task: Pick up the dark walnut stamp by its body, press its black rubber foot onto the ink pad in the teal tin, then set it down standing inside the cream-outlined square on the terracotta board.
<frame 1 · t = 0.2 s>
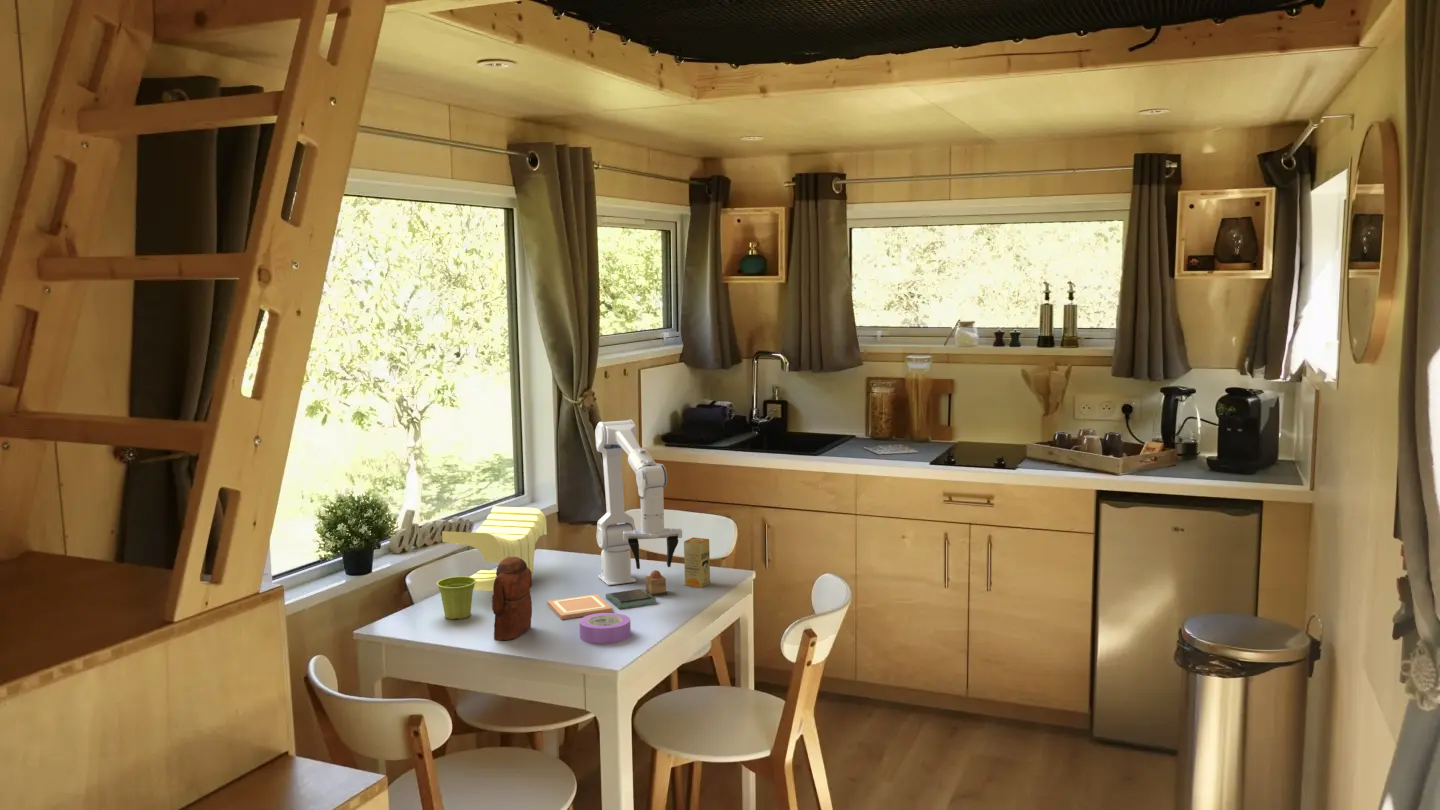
hand: (653, 566, 267), 10 cm above the table, tool pointing down, fingers open, 7 cm apart
plant pot: (458, 616, 263), on the table
marked board: (579, 608, 267), on the table
wooden figurine: (512, 634, 249), on the table
masking tape: (605, 637, 247), on the table
walnut stamp: (656, 594, 278), on the table
ink pad: (630, 600, 272), on the table
shoe polish box: (697, 584, 286), on the table
slatted curved stool: (498, 584, 290), on the table
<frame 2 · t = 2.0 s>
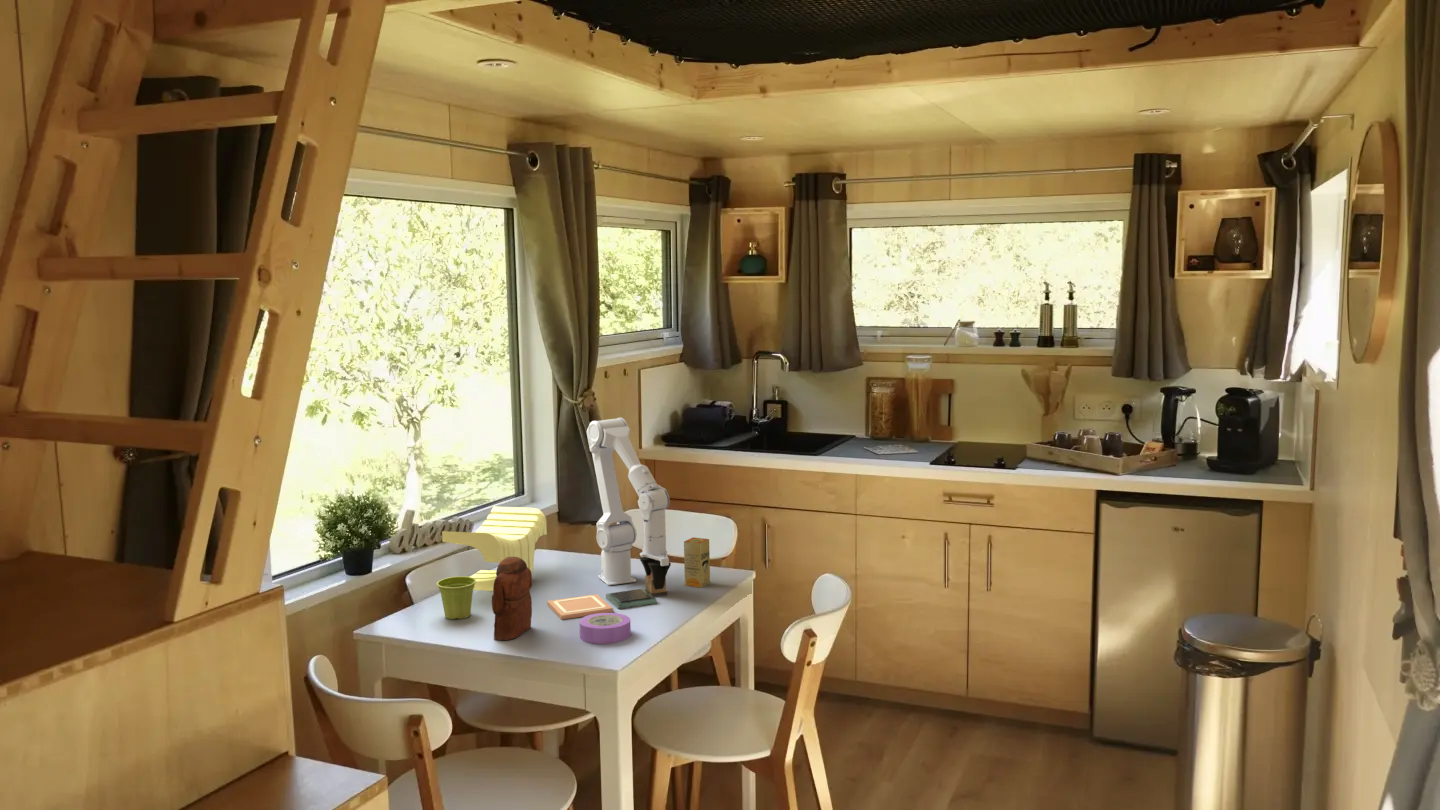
hand: (655, 586, 278), 2 cm above the table, tool pointing down, fingers closed on walnut stamp, 4 cm apart
walnut stamp: (656, 593, 278), on the table, touching gripper
everything else where it was.
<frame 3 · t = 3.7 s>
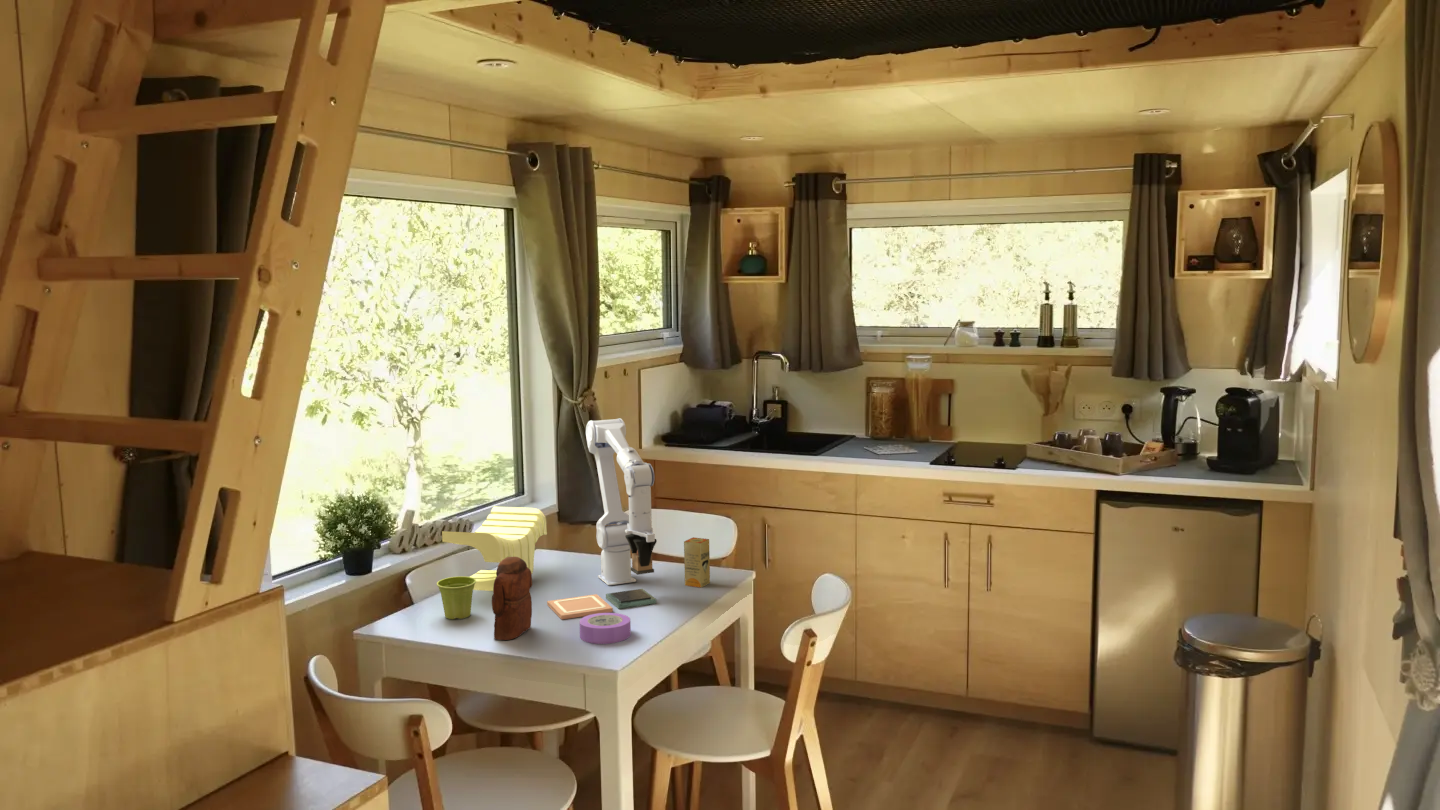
hand: (641, 563, 274), 9 cm above the table, tool pointing down, fingers closed on walnut stamp, 4 cm apart
walnut stamp: (642, 571, 274), point 7 cm above the table, touching gripper
everything else where it was.
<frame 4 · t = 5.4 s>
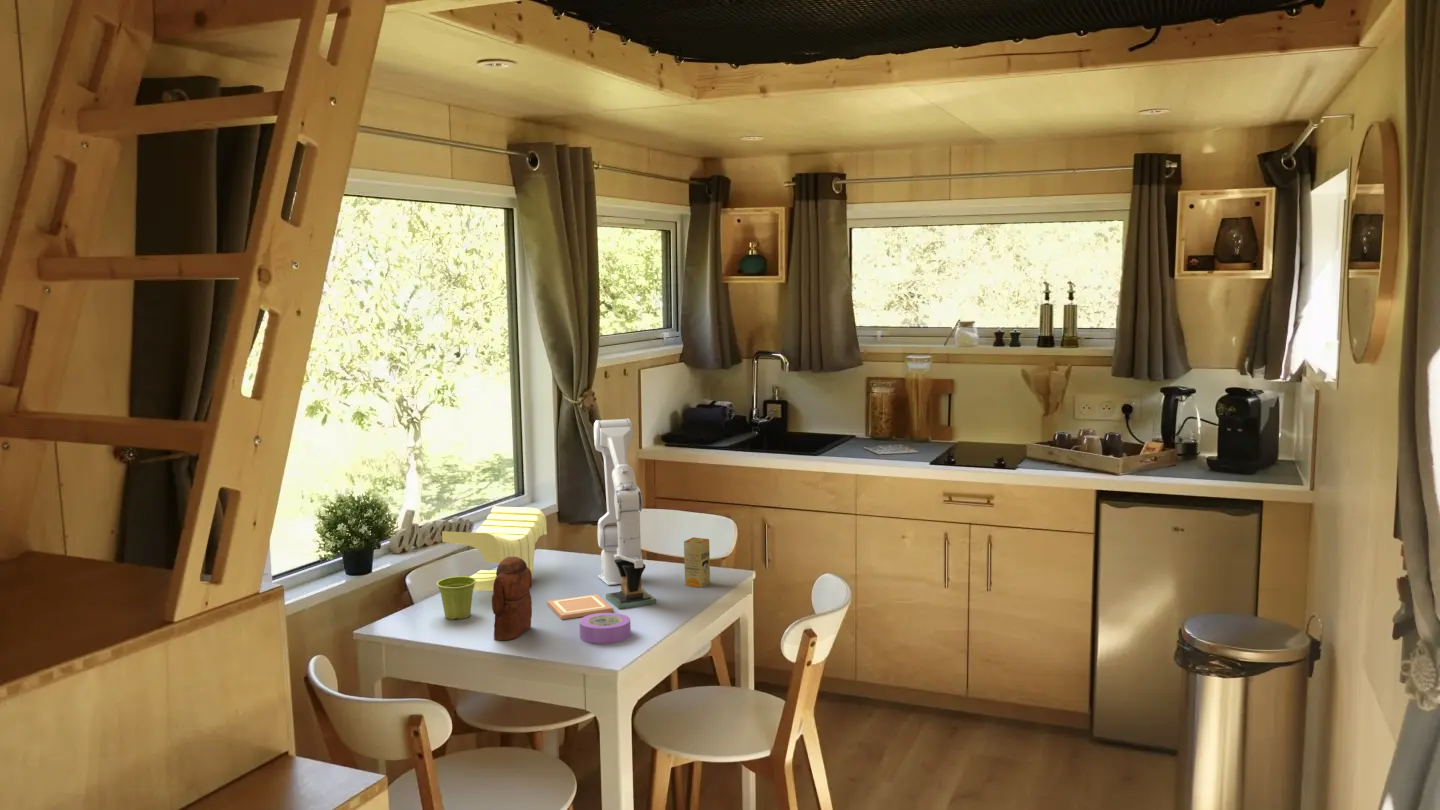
hand: (630, 589, 272), 3 cm above the table, tool pointing down, fingers closed on walnut stamp, 4 cm apart
walnut stamp: (631, 595, 272), point 1 cm above the table, touching gripper, ink pad
everything else where it was.
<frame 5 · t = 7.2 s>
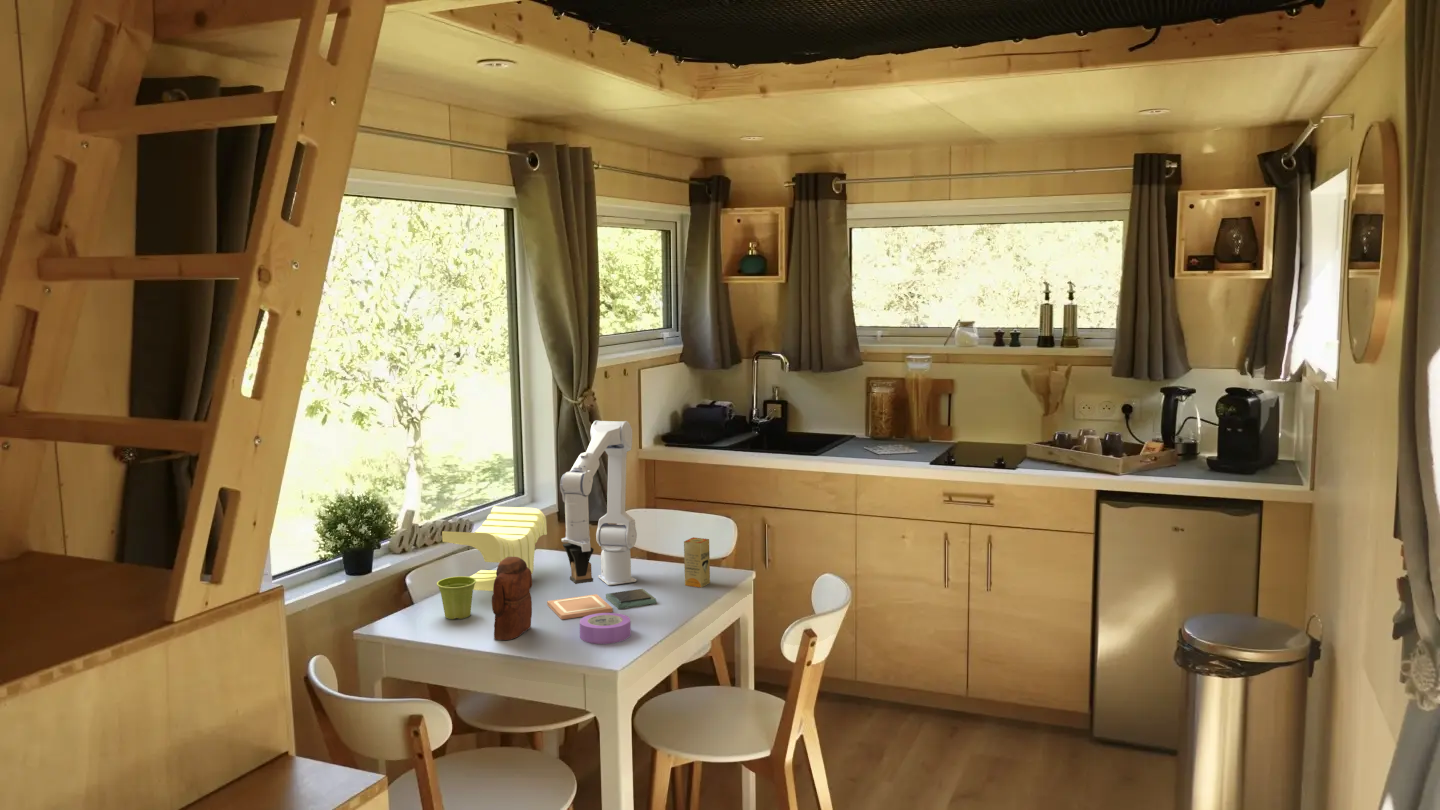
hand: (578, 573, 266), 9 cm above the table, tool pointing down, fingers closed on walnut stamp, 4 cm apart
walnut stamp: (581, 580, 266), point 7 cm above the table, touching gripper
everything else where it was.
when the fingers open (4 cm above the table, at t = 8.8 s): walnut stamp drops 1 cm, resting on marked board.
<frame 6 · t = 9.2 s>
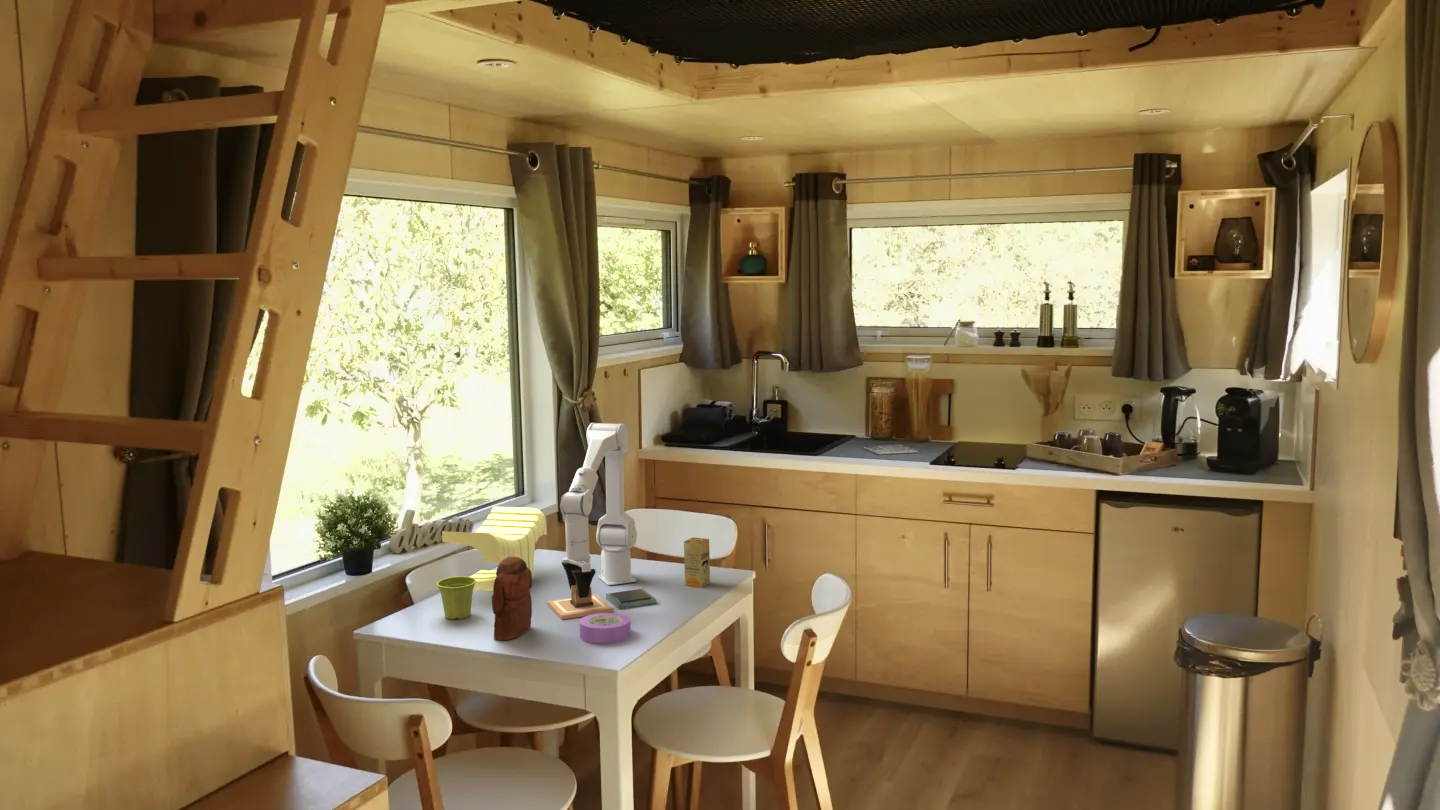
hand: (579, 593, 266), 4 cm above the table, tool pointing down, fingers open, 7 cm apart
walnut stamp: (581, 604, 267), point 1 cm above the table, touching marked board
everything else where it was.
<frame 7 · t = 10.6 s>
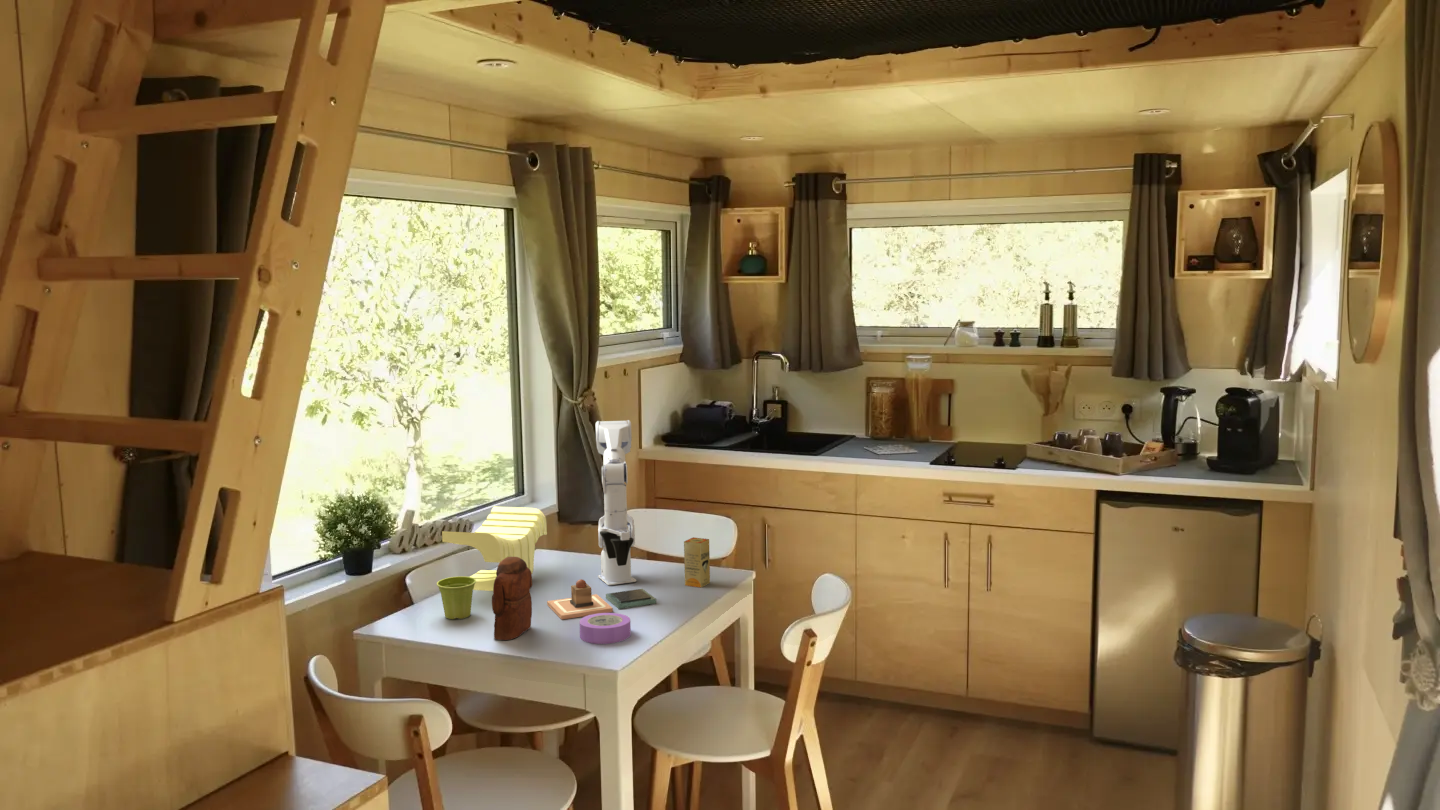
hand: (617, 561, 275), 9 cm above the table, tool pointing down, fingers open, 7 cm apart
nothing on the table moved.
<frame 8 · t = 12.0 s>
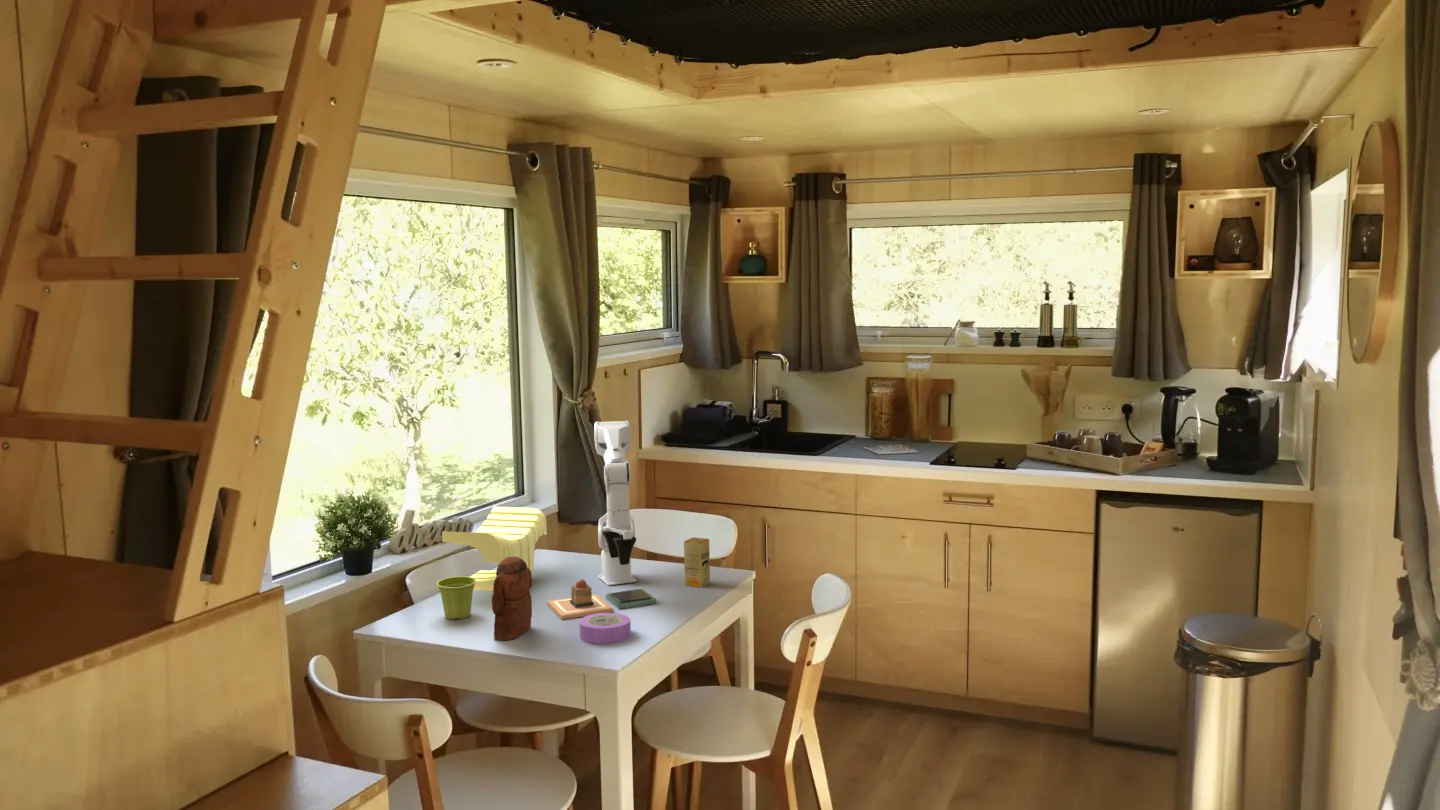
hand: (619, 560, 275), 9 cm above the table, tool pointing down, fingers open, 7 cm apart
nothing on the table moved.
at the end: walnut stamp 0.6 cm off-centre on the marked board, point 1.0 cm above the marked board's base; walnut stamp tilted 0°; the gripper is holding nothing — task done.
